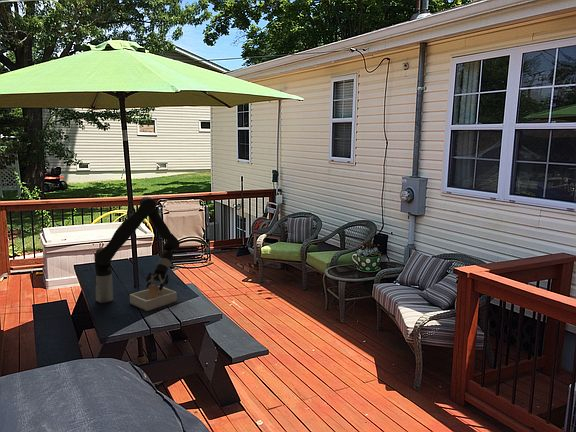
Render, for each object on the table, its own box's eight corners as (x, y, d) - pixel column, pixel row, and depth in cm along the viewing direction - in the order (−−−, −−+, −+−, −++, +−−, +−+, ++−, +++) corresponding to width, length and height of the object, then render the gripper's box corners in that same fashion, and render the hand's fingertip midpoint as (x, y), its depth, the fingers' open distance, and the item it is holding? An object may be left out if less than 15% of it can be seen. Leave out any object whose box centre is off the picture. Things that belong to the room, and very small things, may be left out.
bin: (146, 311, 273) (146, 301, 272) (130, 303, 284) (129, 294, 283) (177, 301, 290) (176, 292, 288) (160, 294, 301) (160, 285, 300)
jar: (152, 302, 283) (151, 287, 281) (147, 300, 287) (146, 285, 285) (160, 300, 287) (159, 285, 285) (155, 298, 291) (154, 283, 289)
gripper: (150, 262, 294) (141, 285, 285) (170, 264, 290) (161, 287, 281) (155, 268, 299) (146, 290, 291) (175, 270, 296) (166, 293, 287)
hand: (153, 289), depth 286 cm, fingers open, 8 cm apart
